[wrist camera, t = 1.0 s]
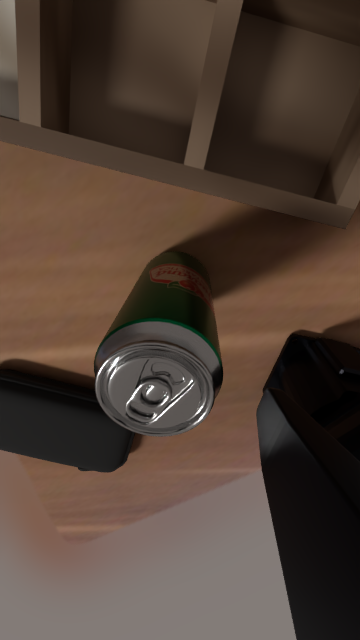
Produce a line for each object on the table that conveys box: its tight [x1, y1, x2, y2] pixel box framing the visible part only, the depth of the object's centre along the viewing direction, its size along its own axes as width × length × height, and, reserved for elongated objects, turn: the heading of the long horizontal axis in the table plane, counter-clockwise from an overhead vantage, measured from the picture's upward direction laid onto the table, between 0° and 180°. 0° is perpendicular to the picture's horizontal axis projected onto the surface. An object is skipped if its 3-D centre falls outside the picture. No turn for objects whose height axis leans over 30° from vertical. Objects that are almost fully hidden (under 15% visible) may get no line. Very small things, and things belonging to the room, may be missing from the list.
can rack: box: [0, 0, 360, 229], centre depth 13 cm, size 10×25×4 cm, turn 77°
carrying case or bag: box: [0, 370, 135, 472], centre depth 26 cm, size 11×3×15 cm
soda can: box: [94, 252, 223, 436], centre depth 15 cm, size 5×5×12 cm
